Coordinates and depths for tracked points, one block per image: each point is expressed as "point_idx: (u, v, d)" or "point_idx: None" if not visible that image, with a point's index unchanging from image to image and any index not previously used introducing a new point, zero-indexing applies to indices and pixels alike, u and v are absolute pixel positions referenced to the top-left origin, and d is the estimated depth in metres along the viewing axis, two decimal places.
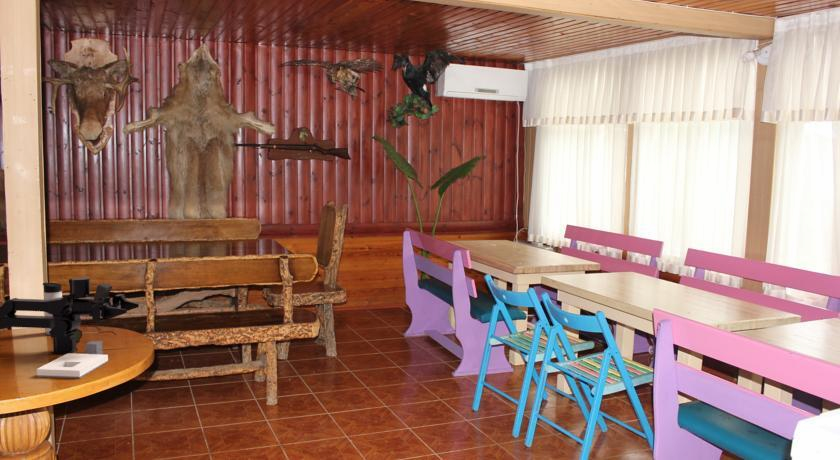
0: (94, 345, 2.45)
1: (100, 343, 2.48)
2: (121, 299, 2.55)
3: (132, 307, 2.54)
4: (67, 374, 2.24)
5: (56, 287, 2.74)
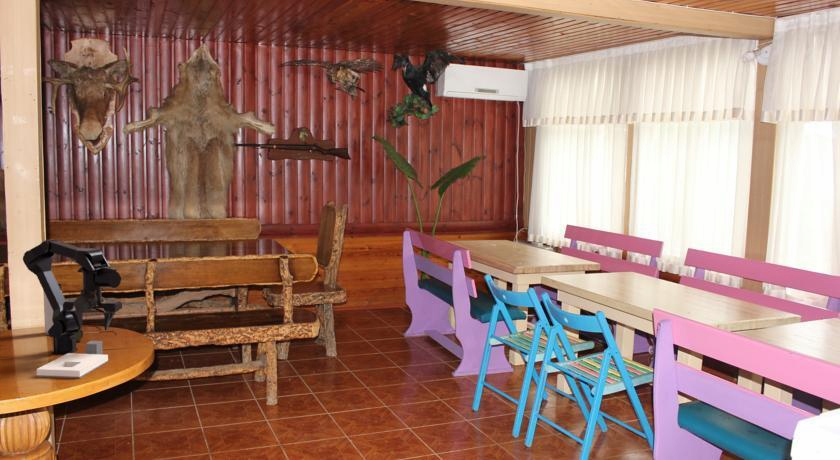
0: (94, 345, 2.45)
1: (100, 343, 2.48)
2: None
3: None
4: (67, 374, 2.24)
5: None
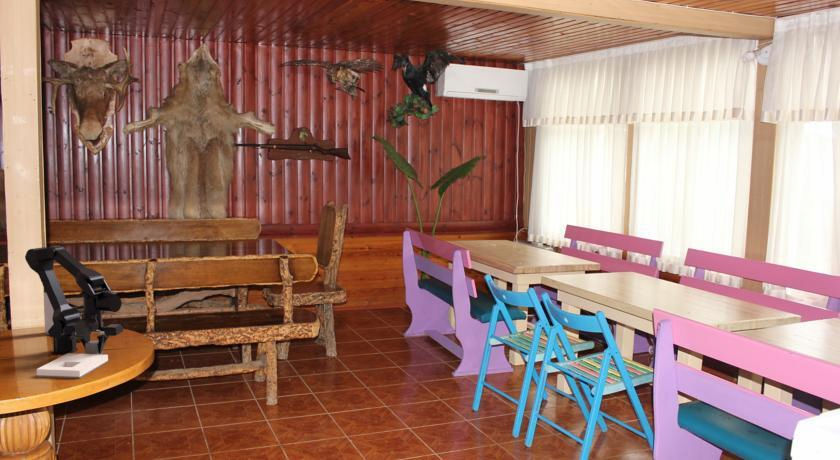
0: (94, 345, 2.45)
1: None
2: None
3: None
4: (67, 374, 2.24)
5: None
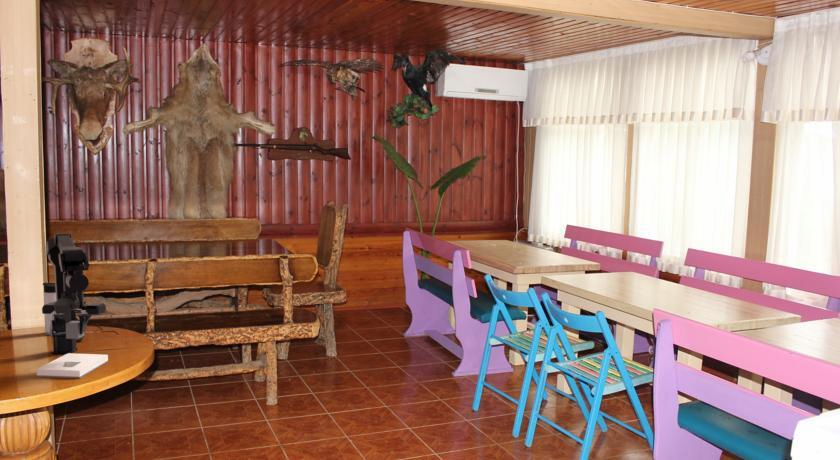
0: (75, 325, 2.31)
1: None
2: None
3: None
4: (67, 374, 2.24)
5: None
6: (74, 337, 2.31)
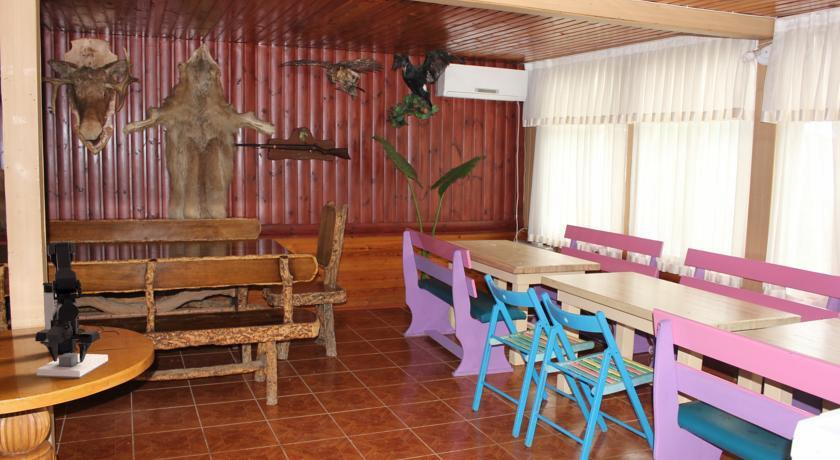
0: (68, 358, 2.27)
1: (75, 356, 2.30)
2: None
3: None
4: (67, 374, 2.24)
5: None
6: None
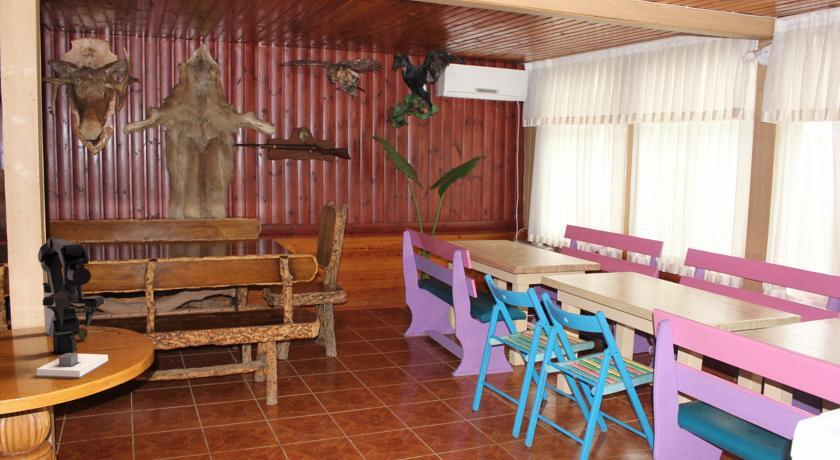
0: (68, 358, 2.27)
1: (75, 356, 2.30)
2: None
3: None
4: (67, 374, 2.24)
5: None
6: None
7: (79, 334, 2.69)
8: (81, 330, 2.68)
